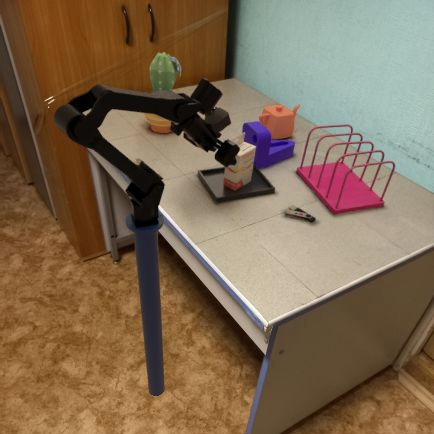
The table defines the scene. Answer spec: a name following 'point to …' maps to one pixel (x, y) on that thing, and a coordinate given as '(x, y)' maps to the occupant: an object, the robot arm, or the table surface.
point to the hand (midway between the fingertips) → (225, 156)
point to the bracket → (266, 145)
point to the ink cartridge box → (240, 165)
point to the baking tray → (221, 193)
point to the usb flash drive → (299, 214)
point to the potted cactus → (162, 86)
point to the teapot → (278, 120)
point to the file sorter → (343, 178)
